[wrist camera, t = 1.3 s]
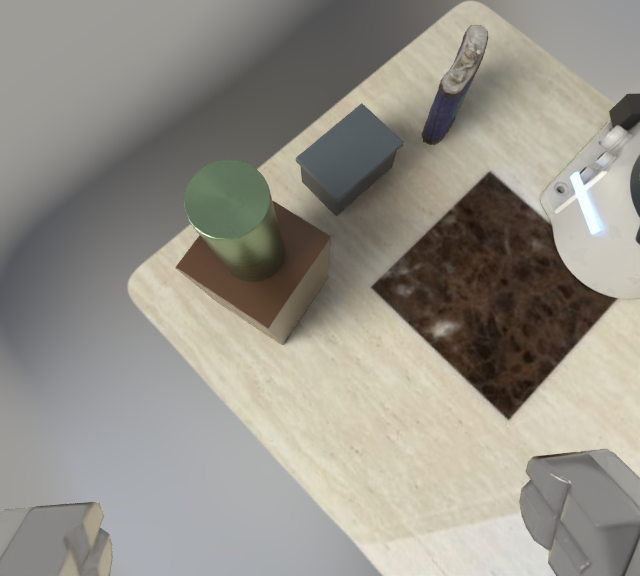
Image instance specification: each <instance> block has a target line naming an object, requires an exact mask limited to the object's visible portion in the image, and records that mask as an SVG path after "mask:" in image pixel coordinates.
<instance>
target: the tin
mask: <svg viewBox="0 0 640 576" xmlns="http://www.w3.org/2000/svg"><path fill="white" fill-rule="evenodd" d="M184 209H185V213H186V216H187V218H188V220H189V221H190V223H191V224H192V226H193V227H194V228H195V230H196V231H197V232H198V233H199V235H200V236H201V237H202V238H203V240H204V241H205V242H206V243H207V245H208V246H209V247H210V248H211V250H212V251H213V252H214V253H215V255H216V256H217V257H218V258H219V260H220V261H221V262H222V263H223V265H224V266H225V267H226V268H227V270H228V271H229V272H230V273H231V274H232V275H233V276H235V277H236V278H238V279H240V280H243V281H247V282H257V281H262V280H265V279H267V278H269V277H270V276H272V275H273V274H274V273H275V272H276V271H277V270H278V269H279V268H280V266H281V264H282V262H283V259H284V254H285V248H284V243H283V239H282V235H281V232H280V228H279V224H278V220H277V217H276V213H275V209H274V205H273V202H272V198H271V194H270V190H269V187H268V184H267V182H266V180H265V178H264V177H263V176H262V174H261V173H260V172H259V171H258V170H257V169H255V168H254V167H252V166H251V165H249V164H247V163H244V162H241V161H237V160H221V161H217V162H214V163H211V164H209V165H207V166H205V167H203V168H202V169H200V170H199V171H198V172H197V173H196V174H195V175H194V176H193V178H192V179H191V180H190V182H189V184H188V186H187V188H186V191H185V195H184Z"/></svg>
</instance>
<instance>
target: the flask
mask: <svg viewBox="0 0 640 576" xmlns="http://www.w3.org/2000/svg"><path fill="white" fill-rule="evenodd" d="M487 41H488V31H487V30H486V29H485V28H484V27H483V26H481V25H474V26H470V27H469V28H468V29H467V31H466V32H465V34H464V37H463V41H462V44H461V46H460V49H459V51H458V54H457V56H456V59H455V61H454V64H453V65H452V67H451V68H450V70H449V71H448V72H447V73H446V74H445V75H444V77H443V78H442V80H441V83H440V85H439V89H438V92H437V94H436V97H435V100H434V103H433V105H432V107H431V109H430V113H429V116H428V119H427V121H426V124H425V126H424V129H423V132H422V138H423V142H426V143H427V144H430V145H435V144H437V143H439V141H441V140H442V139H443V138H444V136H445V134H446V133H447V132H448V131H449V128H450V127H451V125H452V123H453V121H454V119H455V116H456V114H457V111H458V109H459V107H460V106H461V104H462V101H463V99H464V97H465V95H466V93H467V91H468V88H469V86H470V84H471V82H472V80H473V78H474V76H475V74H476V72H477V70H478V68H479V66H480V64H481V61H482V58H483V55H484V53H485V49H486V45H487Z"/></svg>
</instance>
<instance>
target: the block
mask: <svg viewBox="0 0 640 576" xmlns="http://www.w3.org/2000/svg"><path fill="white" fill-rule="evenodd" d="M272 202H273V205H274V209H275V213H276V217H277V220H278V224H279V228H280V232H281V235H282V239H283V243H284V248H285V254H284V259H283V262H282V264H281V266H280V268H279V269H278V270H277V271H276V272H275V273H274V274H273V275H272V276H270V277H269V278H267V279H265V280H262V281H257V282H247V281H243V280H240V279H238V278H236V277H235V276H233V275H232V274H231V273H230V272H229V271H228V270H227V268H226V267H225V266H224V265H223V263H222V262H221V261H220V260H219V258H218V257H217V256H216V255H215V253H214V252H213V251H212V250H211V248H210V247H209V246H208V245H207V243H206V242H205V241H204V240H203V238H202V237H201V236H199V237H198V238H197V240H196V241H195V242H194V244H193V245H192V246H191V248H190V249H189V250H188V252H187V253H186V254H185V255H184V257H183V258H182V259H181V261H180V262H179V263H178V265H177V266H176V269H177V270H178V271H180V272H181V273H182V274H183V275H185V276H186V277H187V278H188V279H189V280H191V281H192V282H193V283H194V284H196V285H197V286H198V287H199V288H200V289H202V290H203V291H204V292H205V293H207V294H208V295H209V296H210V297H211V298H213V299H214V300H215V301H217V302H218V303H220V304H221V305H223V306H224V307H226V308H227V309H229V310H230V311H232V312H233V313H235V314H236V315H238V316H239V317H241V318H242V319H244V320H245V321H247V322H248V323H250V324H251V325H253V326H254V327H256V328H257V329H259V330H260V331H262V332H263V333H265V334H266V335H268V336H269V337H271V338H272V339H274V340H275V341H277V342H278V343H280V344H281V345H283V344H284V343H285V341H286V340H287V338H288V337H289V335H290V334H291V332H292V331H293V329H294V328H295V326H296V325H297V323H298V322H299V320H300V319H301V317H302V316H303V314H304V313H305V311H306V310H307V308H308V307H309V305H310V304H311V302H312V301H313V300H314V298H315V297H316V295H317V294H318V292H319V291H320V289H321V288H322V286H323V285H324V283H325V282H326V280H327V279H328V277H329V260H330V242H331V236H329V235H328V234H326V233H324V232H323V231H321V230H319V229H318V228H316V227H315V226H313V225H311V224H310V223H308V222H306V221H305V220H303V219H302V218H300V217H298V216H297V215H295V214H293V213H292V212H290V211H289V210H287V209H285V208H284V207H282V206H280V205H279V204H277V203H276V202H274V201H272Z"/></svg>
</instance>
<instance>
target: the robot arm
mask: <svg viewBox="0 0 640 576" xmlns="http://www.w3.org/2000/svg"><path fill="white" fill-rule="evenodd" d="M609 113H610V118H611V120H609V121H608V122H607V123H606V124H605V125H604V126H603V128H602V129H601V130H600V131H599V132H598V133H597V134H596V135H595V136H594V137H593V138H592V139H591V140H590V141H589V143H588V144H587V145H586V146H585V147H584V148H583V149H582V150H581V151H580V152H579V153H578V154H577V155H576V157H575V158H574V159H573V160H572V161H571V162H570V163H569V164H568V165H567V166H566V167H565V168H564V169H563V171H562V172H561V173H560V174H559V175H558V176H557V177H556V178H555V179H554V180H553V181H552V182H551V183H550V184H549V186H548V187H547V188H546V189H545V190H544V191H543V192H542V194H541V196H540V200H541V204H542V206H543V208H544V210H545V211H546V213H547V215H548V216H549V218H550V220H551V223H552V227H553V235H554V240H555V244H556V247H557V250H558V253H559V255H560V257H561V259H562V260H563V262H564V264H565V265H566V266H567V268H568V269H569V270H570V271H571V273H572V274H573V275H574V276H575V277H576V278H577V279H579V280H580V281H581V282H582V283H584V284H585V285H586V286H588V287H590V288H591V289H593V290H595V291H597V292H599V293H601V294H604V295H607V296H610V297H615V298H621V299H637V298H640V94H627V95H626V96H625V97H624V98H623V99H622V100H621V101H620V102H619V103H617V104H616V105H615V106H614V107H613V108H612V109H611V110H610V111H609ZM557 189H559V190H560V191H561V193H559V192H558V191H557ZM526 473H527V474H528V476H529V477H530V479H531V480H530V481H529V482H528V483H527V484H526V485H525V486H524V487H523V488H522V490H521V496H520V501H519V502H520V508H521V514H522V518H523V520H524V523H525V525H526V528H527V529H528V531H529V533H530V534H531V536H532V538H533V539H534V541H536V542H537V543H539V544H540V545H541V546H543V547H544V548H546V549H547V550H549V557H548V563H549V565H550V567H551V568H552V570H553V571H554V573H555V575H556V576H640V478H639V477H638V476H637V475H636V474H635V473H634V472H633V471H632V470H631V469H630V468H629V467H628V466H627V465H626V464H625V463H624V462H623V461H622V460H621V459H620V458H619V457H618V456H617V455H616V454H614V453H613V452H611V451H609V450H607V449H600V450H591V451H582V452H571V453H562V454H553V455H544V456H536V457H532V458H531V459H530V461H529V462H528V465H527V469H526ZM103 518H104V514H103V511H102V508H101V506H100V503H97V502H89V503H75V504H62V505H49V506H36V507H29V508H16V509H5V510H4V511H2V512H1V513H0V576H110V570H111V563H112V543H111V539H110V536H109V534H108V533H107V532H106V531H104V530H103V529H101V528H100V526H101V523H102V520H103Z"/></svg>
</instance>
